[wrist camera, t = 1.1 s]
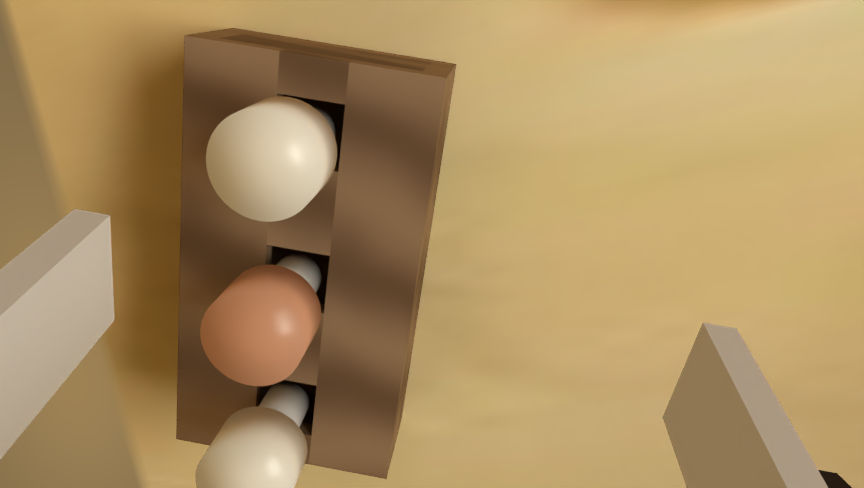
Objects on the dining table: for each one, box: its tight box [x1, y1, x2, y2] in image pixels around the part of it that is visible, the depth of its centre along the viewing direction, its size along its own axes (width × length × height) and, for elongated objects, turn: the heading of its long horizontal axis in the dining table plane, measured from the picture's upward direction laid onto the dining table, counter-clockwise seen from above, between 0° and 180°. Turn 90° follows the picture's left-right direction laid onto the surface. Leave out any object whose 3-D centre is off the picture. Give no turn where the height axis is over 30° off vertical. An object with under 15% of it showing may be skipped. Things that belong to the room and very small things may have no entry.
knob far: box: [195, 381, 309, 488], centre depth 35 cm, size 4×4×7 cm
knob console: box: [176, 28, 456, 479], centre depth 38 cm, size 22×12×6 cm, turn 172°
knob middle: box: [200, 254, 322, 386], centre depth 33 cm, size 4×4×7 cm
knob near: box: [206, 96, 337, 222], centre depth 30 cm, size 4×4×7 cm
